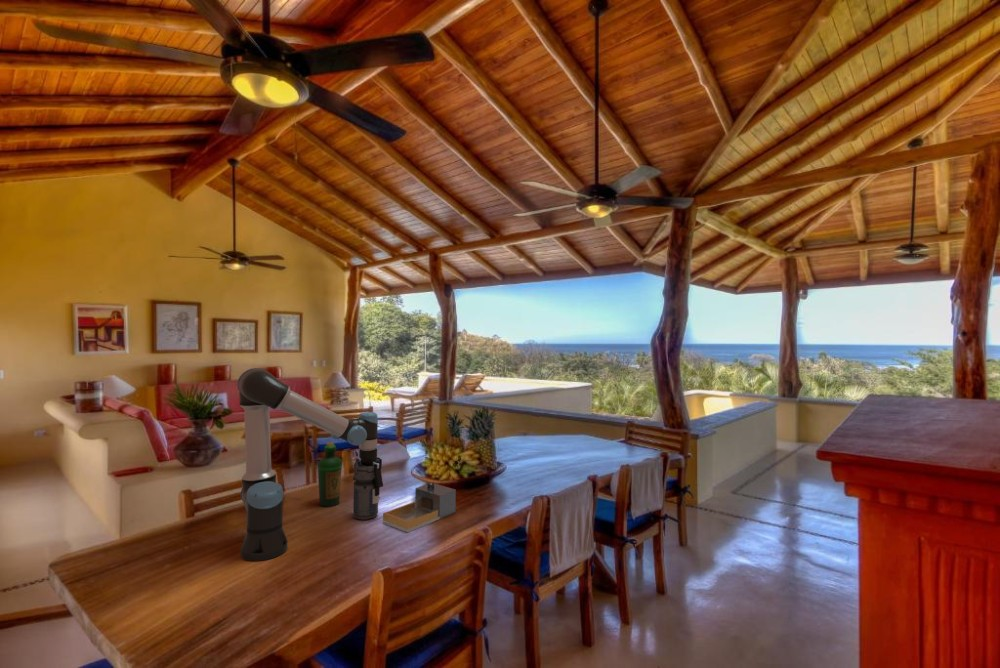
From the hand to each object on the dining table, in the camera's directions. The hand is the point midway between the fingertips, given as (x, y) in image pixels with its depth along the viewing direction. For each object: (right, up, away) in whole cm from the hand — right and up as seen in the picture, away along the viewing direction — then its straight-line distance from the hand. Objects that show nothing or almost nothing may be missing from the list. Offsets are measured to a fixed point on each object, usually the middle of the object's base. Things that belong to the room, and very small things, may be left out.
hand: (367, 500), depth 206 cm
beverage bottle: (0, -7, 0) cm, 7 cm away
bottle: (-21, -7, +14) cm, 26 cm away
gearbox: (+23, -7, -1) cm, 24 cm away
